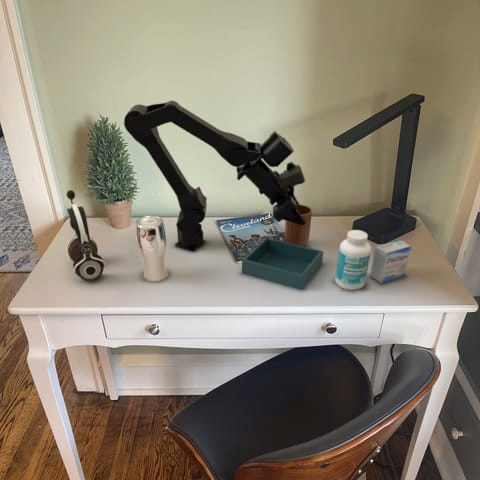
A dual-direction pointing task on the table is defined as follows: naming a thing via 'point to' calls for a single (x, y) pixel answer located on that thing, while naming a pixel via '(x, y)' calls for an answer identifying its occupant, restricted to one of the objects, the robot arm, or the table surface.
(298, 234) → the cup
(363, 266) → the pill bottle
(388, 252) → the medicine box
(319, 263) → the tray
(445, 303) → the table surface
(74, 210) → the headset
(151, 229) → the beer glass
